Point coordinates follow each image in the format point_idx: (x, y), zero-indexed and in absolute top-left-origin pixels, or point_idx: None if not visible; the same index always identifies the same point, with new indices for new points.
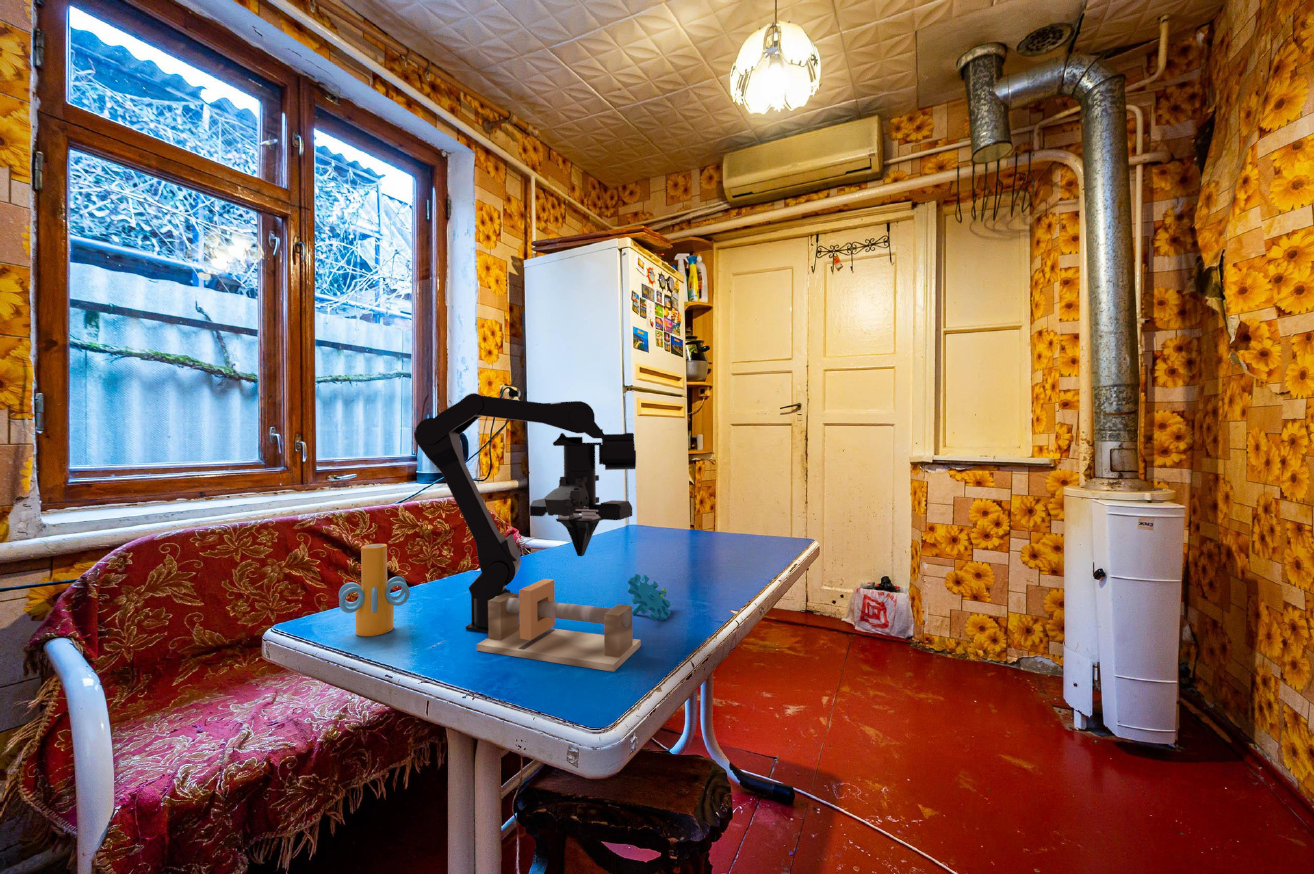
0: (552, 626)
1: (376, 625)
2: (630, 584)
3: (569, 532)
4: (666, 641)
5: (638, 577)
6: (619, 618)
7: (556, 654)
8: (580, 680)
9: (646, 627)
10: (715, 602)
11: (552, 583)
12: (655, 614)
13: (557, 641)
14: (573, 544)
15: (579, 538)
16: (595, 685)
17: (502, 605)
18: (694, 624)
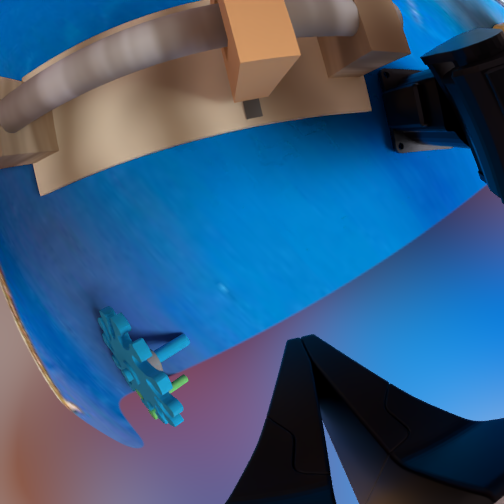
0: (231, 91)
1: (501, 27)
2: (159, 371)
3: (424, 409)
4: (33, 244)
5: (166, 407)
6: None
7: (133, 25)
8: (58, 24)
9: (105, 287)
10: (121, 430)
11: (236, 52)
12: (101, 325)
13: (182, 68)
14: (355, 362)
15: (311, 411)
16: (33, 34)
17: None
18: (61, 340)
